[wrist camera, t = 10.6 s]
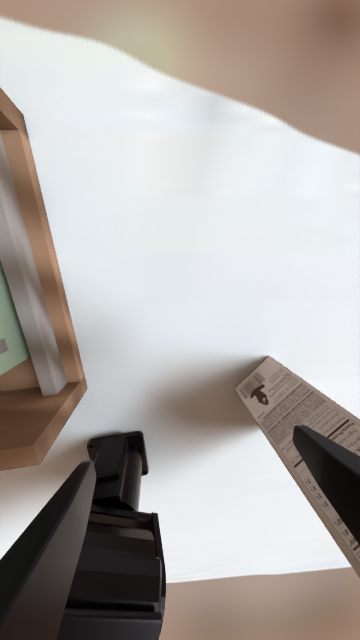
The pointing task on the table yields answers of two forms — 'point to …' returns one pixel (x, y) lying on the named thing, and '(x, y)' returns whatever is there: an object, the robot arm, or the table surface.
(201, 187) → the table surface
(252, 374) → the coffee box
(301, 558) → the table surface
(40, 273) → the cabinet base
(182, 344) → the table surface
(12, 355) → the door panel
